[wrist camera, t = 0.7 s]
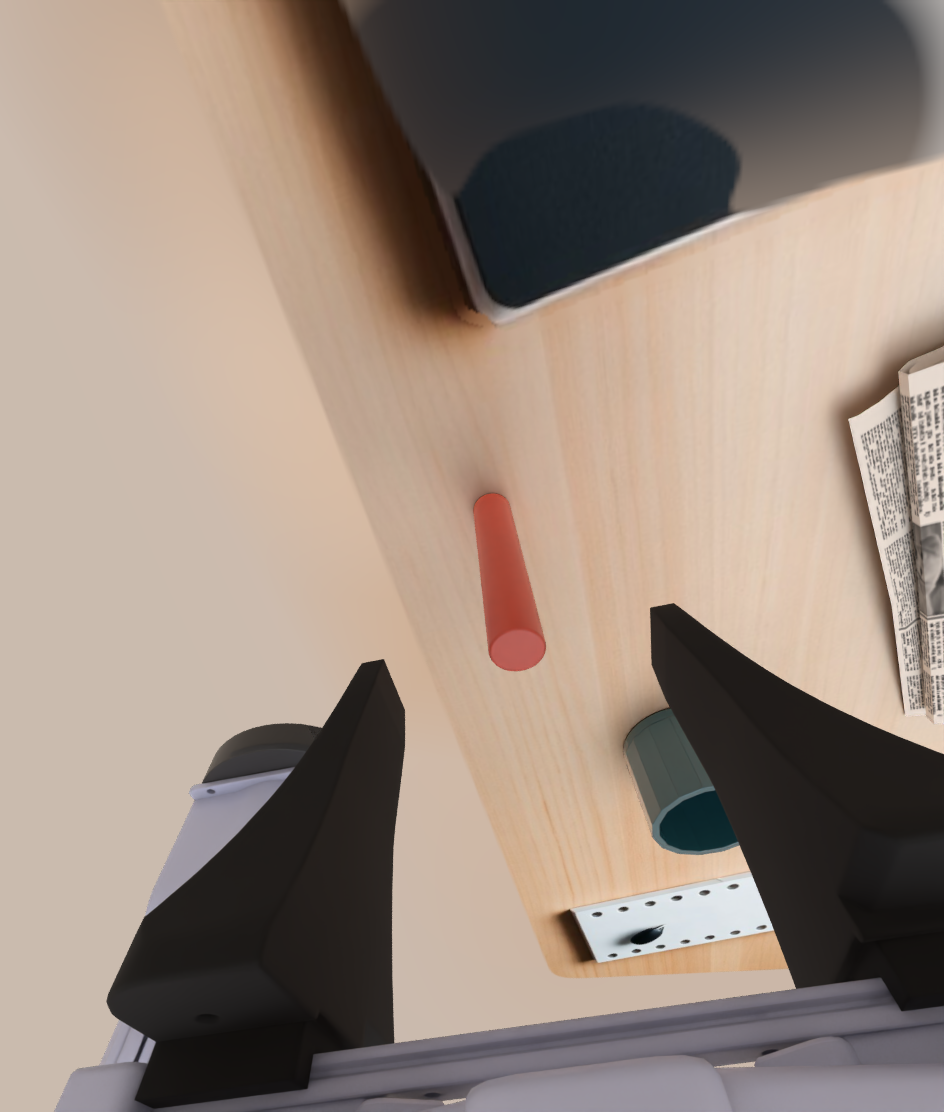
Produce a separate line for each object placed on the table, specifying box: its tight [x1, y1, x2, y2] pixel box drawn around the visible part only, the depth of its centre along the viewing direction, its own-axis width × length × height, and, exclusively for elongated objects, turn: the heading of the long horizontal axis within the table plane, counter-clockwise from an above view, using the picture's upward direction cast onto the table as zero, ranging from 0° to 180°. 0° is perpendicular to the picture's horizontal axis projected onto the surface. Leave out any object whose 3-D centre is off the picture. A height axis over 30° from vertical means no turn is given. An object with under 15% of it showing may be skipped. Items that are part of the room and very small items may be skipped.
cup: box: [623, 708, 739, 855], centre depth 28 cm, size 6×6×5 cm
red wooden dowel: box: [474, 493, 546, 671], centre depth 17 cm, size 2×2×9 cm
